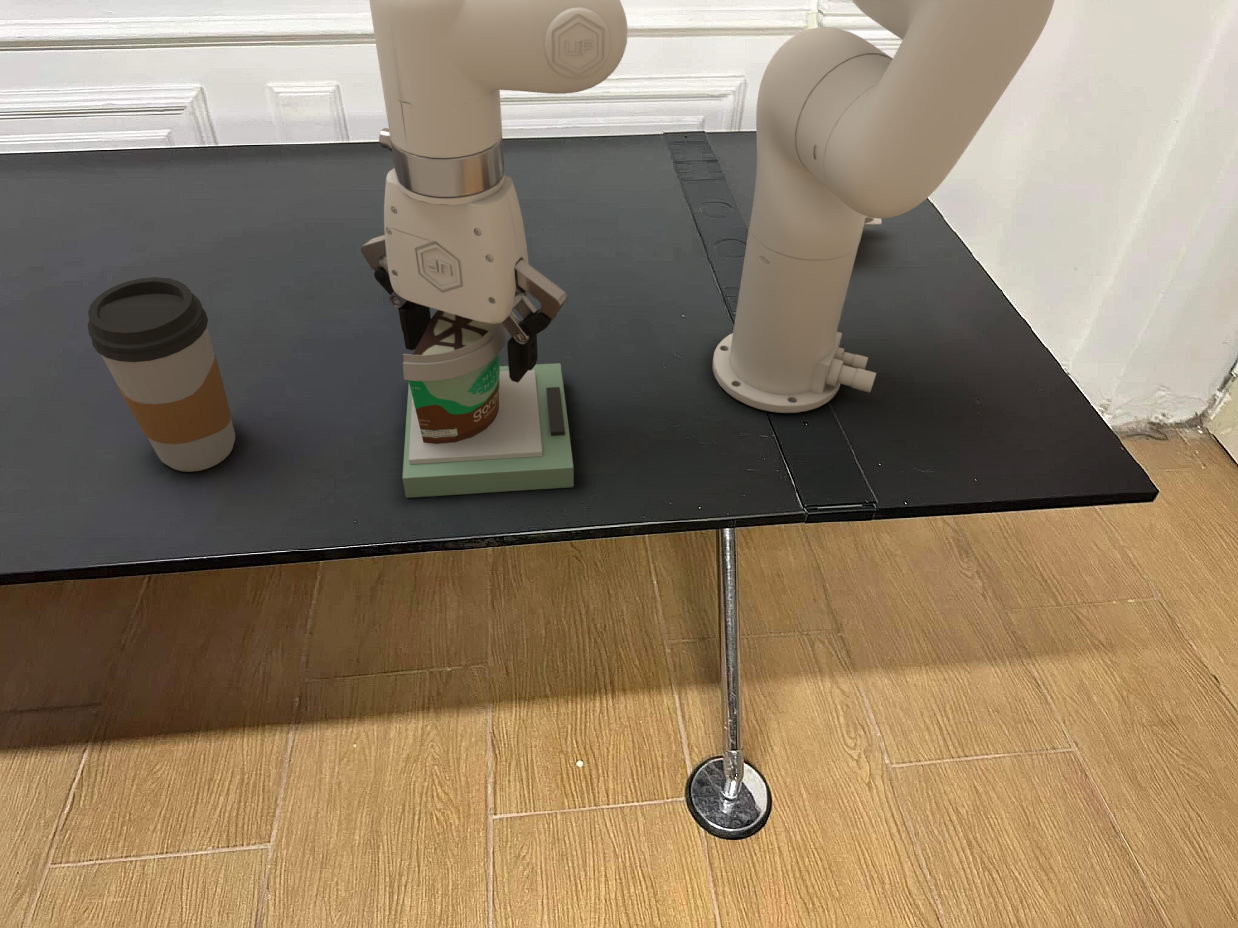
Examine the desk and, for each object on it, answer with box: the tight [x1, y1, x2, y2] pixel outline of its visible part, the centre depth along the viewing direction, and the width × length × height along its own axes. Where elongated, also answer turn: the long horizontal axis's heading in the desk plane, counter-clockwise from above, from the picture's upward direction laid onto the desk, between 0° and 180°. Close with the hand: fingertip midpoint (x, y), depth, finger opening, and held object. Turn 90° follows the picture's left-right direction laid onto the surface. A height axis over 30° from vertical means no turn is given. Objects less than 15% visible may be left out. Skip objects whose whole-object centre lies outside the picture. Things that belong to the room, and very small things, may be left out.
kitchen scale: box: [401, 362, 575, 499], centre depth 80 cm, size 14×14×3 cm
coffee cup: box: [87, 276, 236, 473], centre depth 73 cm, size 8×8×15 cm
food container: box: [402, 309, 509, 444], centre depth 75 cm, size 12×6×10 cm, turn 168°
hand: (470, 356), depth 74 cm, fingers open, 9 cm apart
